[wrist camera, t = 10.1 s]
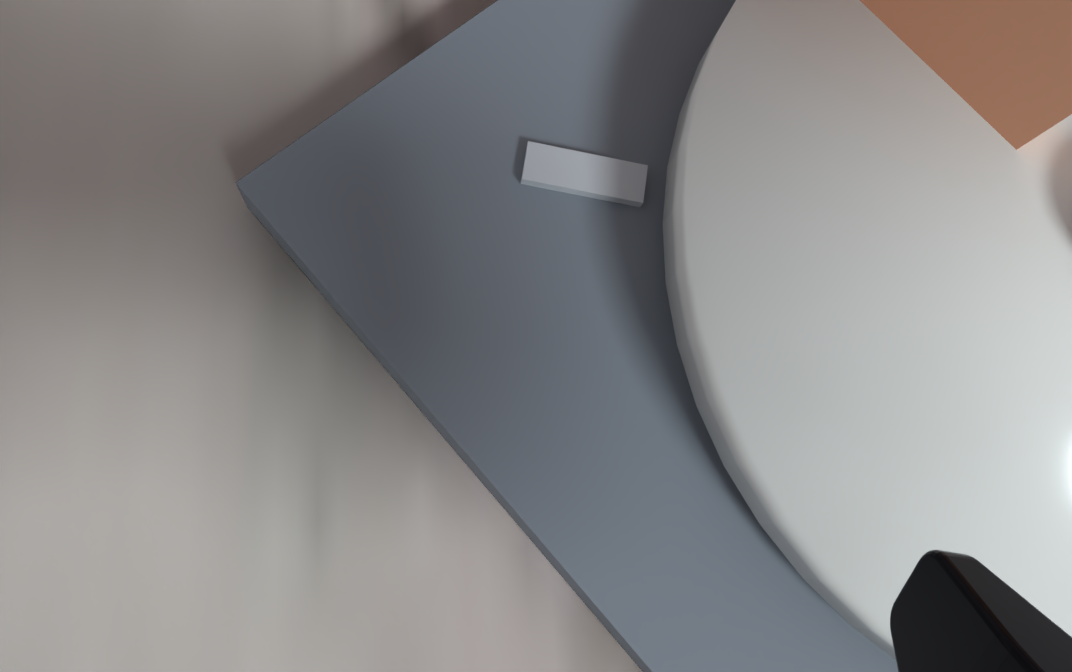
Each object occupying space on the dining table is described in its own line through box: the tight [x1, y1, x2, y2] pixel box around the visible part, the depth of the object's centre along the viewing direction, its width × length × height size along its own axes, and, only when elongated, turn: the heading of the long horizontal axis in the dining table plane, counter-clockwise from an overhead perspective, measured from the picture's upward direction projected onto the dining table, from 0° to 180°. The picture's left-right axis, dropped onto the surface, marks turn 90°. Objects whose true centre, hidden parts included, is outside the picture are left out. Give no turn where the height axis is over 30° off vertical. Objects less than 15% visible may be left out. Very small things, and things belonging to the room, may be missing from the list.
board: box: [236, 0, 898, 672], centre depth 19 cm, size 24×24×1 cm
